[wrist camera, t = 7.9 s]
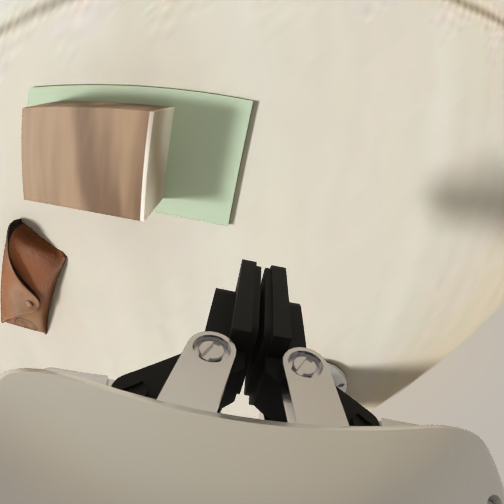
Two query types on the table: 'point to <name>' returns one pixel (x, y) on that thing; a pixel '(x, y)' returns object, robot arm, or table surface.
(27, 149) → the walnut block
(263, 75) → the table surface
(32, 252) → the sunglasses case
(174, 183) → the felt mat
